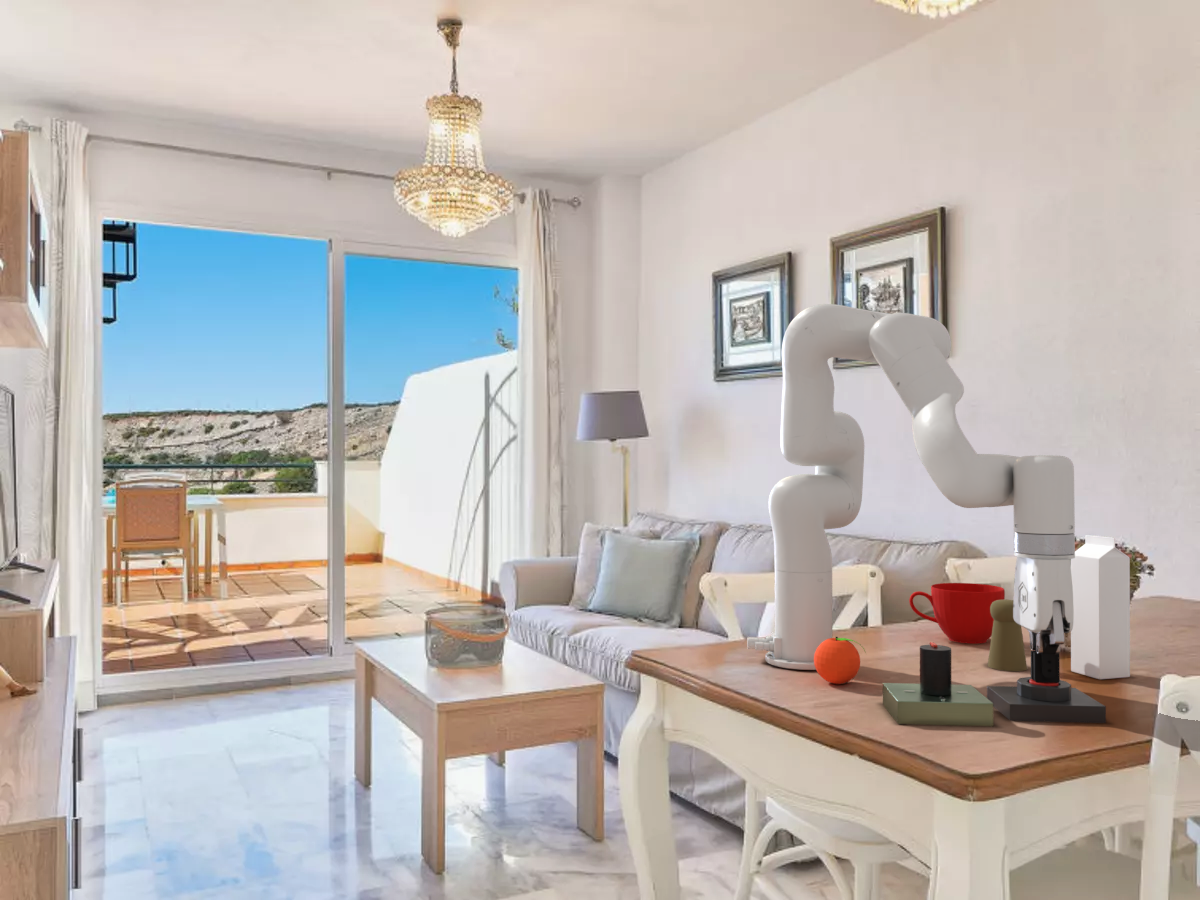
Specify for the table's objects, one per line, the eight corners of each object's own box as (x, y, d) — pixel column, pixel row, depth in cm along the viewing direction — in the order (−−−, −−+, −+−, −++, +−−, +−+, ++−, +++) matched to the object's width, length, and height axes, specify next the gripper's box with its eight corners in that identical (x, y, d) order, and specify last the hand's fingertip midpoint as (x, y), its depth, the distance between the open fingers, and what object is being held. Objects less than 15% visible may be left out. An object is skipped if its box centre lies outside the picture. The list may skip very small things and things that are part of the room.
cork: (1031, 671, 153) (1031, 603, 153) (991, 670, 155) (991, 602, 155) (1022, 663, 159) (1022, 598, 159) (984, 662, 161) (983, 596, 161)
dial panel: (897, 724, 124) (897, 699, 124) (882, 704, 134) (882, 681, 134) (993, 726, 122) (993, 702, 122) (971, 706, 132) (971, 683, 132)
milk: (1099, 680, 148) (1098, 538, 148) (1070, 671, 154) (1069, 534, 154) (1131, 677, 150) (1130, 536, 150) (1100, 668, 156) (1100, 533, 156)
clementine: (859, 677, 149) (859, 632, 149) (873, 688, 142) (873, 641, 143) (808, 678, 149) (808, 632, 149) (820, 688, 142) (820, 641, 142)
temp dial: (954, 696, 126) (954, 648, 126) (923, 695, 126) (923, 647, 126) (947, 688, 130) (947, 642, 130) (916, 688, 130) (916, 642, 130)
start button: (1034, 697, 128) (1034, 684, 128) (1025, 690, 131) (1025, 677, 131) (1062, 697, 128) (1062, 684, 128) (1052, 691, 131) (1052, 678, 131)
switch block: (1010, 720, 125) (1010, 690, 125) (986, 701, 135) (986, 673, 135) (1105, 723, 124) (1105, 692, 124) (1075, 703, 134) (1075, 674, 134)
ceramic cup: (908, 631, 189) (907, 581, 189) (1000, 635, 184) (999, 584, 184) (910, 644, 176) (910, 590, 176) (1009, 649, 172) (1009, 593, 172)
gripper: (997, 541, 137) (999, 669, 137) (1034, 551, 122) (1036, 694, 122) (1052, 541, 137) (1053, 670, 136) (1095, 551, 122) (1097, 695, 122)
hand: (1045, 681), depth 129 cm, fingers closed
